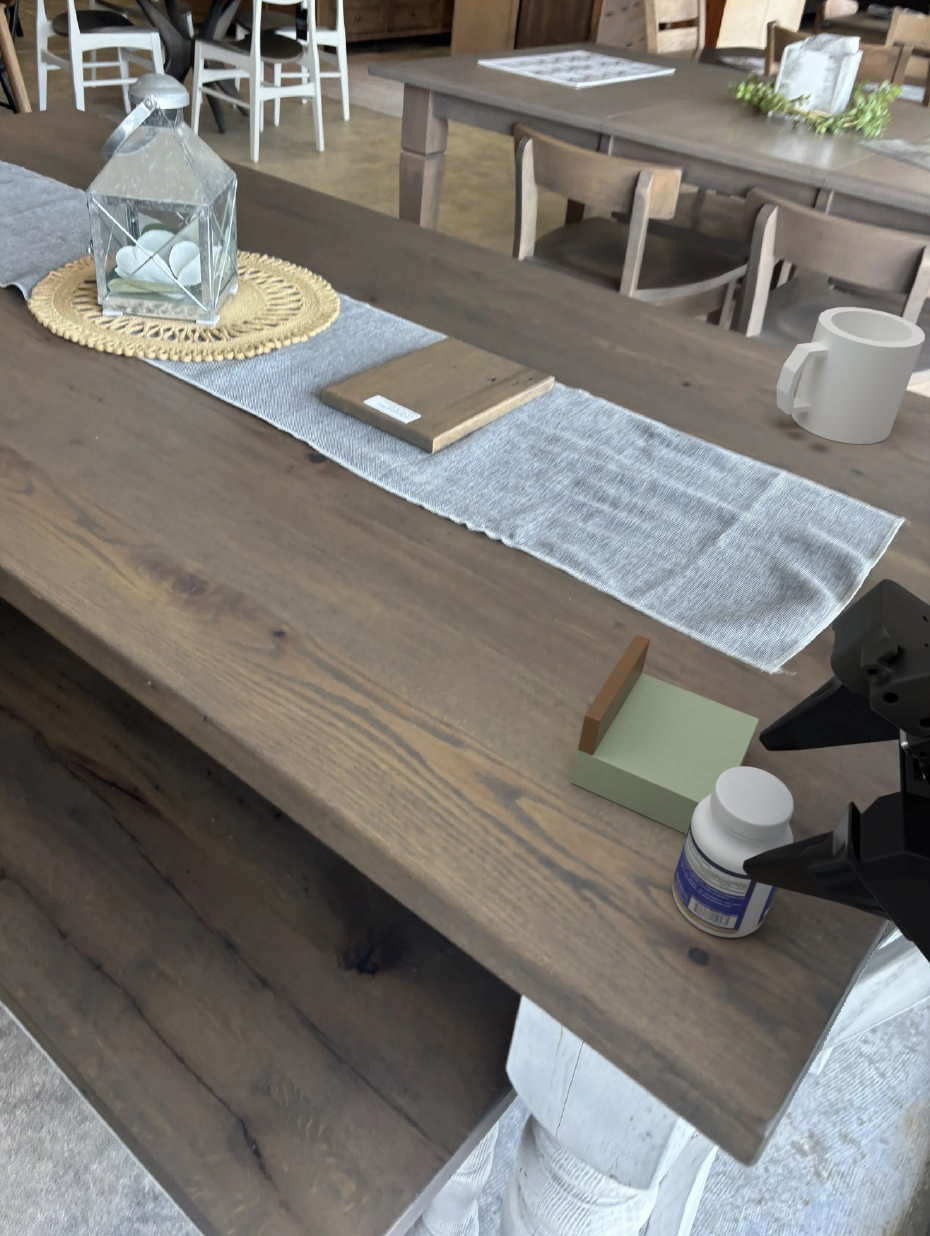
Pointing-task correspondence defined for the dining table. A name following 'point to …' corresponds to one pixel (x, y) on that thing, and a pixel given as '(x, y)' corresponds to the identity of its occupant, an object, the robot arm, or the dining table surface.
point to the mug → (851, 374)
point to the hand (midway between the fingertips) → (755, 802)
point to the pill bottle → (732, 852)
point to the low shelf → (657, 743)
